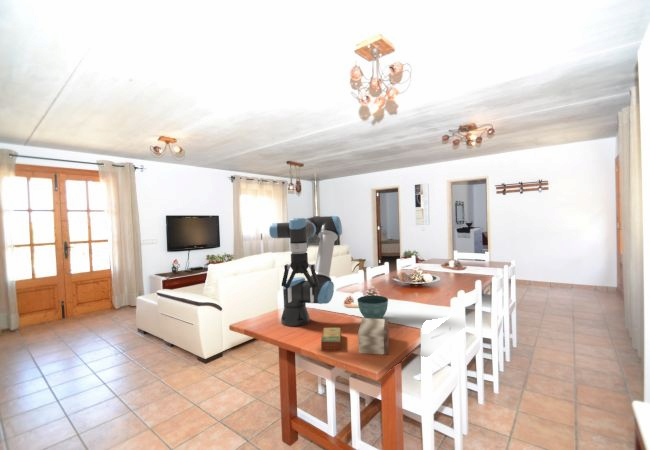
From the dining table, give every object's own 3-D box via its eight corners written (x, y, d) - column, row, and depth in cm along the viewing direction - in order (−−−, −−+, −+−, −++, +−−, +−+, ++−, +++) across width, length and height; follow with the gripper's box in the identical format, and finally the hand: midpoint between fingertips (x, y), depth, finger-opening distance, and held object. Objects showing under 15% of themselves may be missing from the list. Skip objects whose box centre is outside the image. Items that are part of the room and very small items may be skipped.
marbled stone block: (359, 352, 121) (358, 332, 121) (363, 336, 138) (362, 318, 138) (388, 354, 119) (387, 333, 119) (388, 337, 135) (388, 319, 135)
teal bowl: (380, 326, 149) (379, 305, 149) (352, 321, 159) (351, 300, 159) (393, 317, 162) (393, 297, 162) (367, 312, 172) (366, 294, 172)
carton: (341, 336, 140) (340, 327, 140) (341, 351, 124) (340, 341, 124) (323, 336, 141) (323, 327, 141) (320, 351, 125) (320, 341, 125)
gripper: (272, 253, 134) (274, 303, 134) (321, 253, 129) (323, 305, 129) (278, 251, 141) (280, 299, 141) (325, 251, 136) (327, 300, 137)
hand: (301, 302), depth 135 cm, fingers open, 10 cm apart
